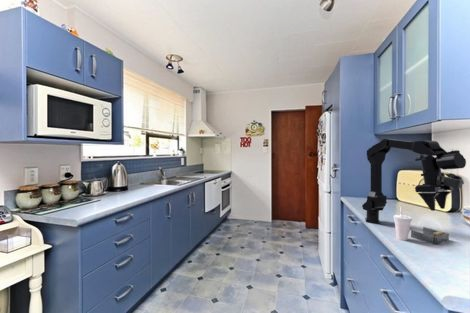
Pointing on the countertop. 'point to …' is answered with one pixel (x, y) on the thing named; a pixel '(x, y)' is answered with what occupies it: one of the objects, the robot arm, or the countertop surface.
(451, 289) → the countertop surface
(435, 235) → the bracket
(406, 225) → the smoothie
